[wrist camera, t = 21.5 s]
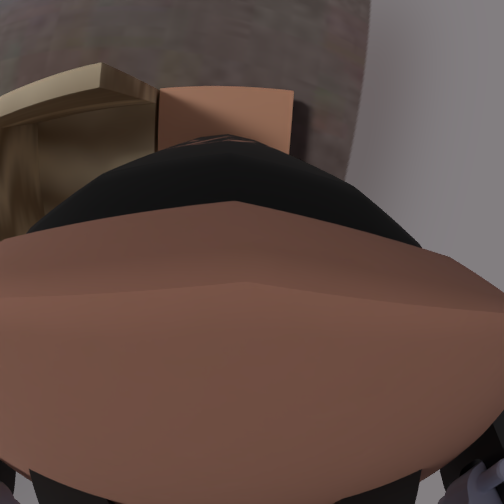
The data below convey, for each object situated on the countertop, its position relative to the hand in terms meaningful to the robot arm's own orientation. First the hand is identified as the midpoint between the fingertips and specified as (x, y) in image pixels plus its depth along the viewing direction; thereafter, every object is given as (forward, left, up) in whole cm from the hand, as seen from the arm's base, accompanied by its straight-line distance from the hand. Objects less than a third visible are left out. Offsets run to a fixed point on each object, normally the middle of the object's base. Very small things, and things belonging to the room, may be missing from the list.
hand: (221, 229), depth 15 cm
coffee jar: (0, 0, -4) cm, 4 cm away
